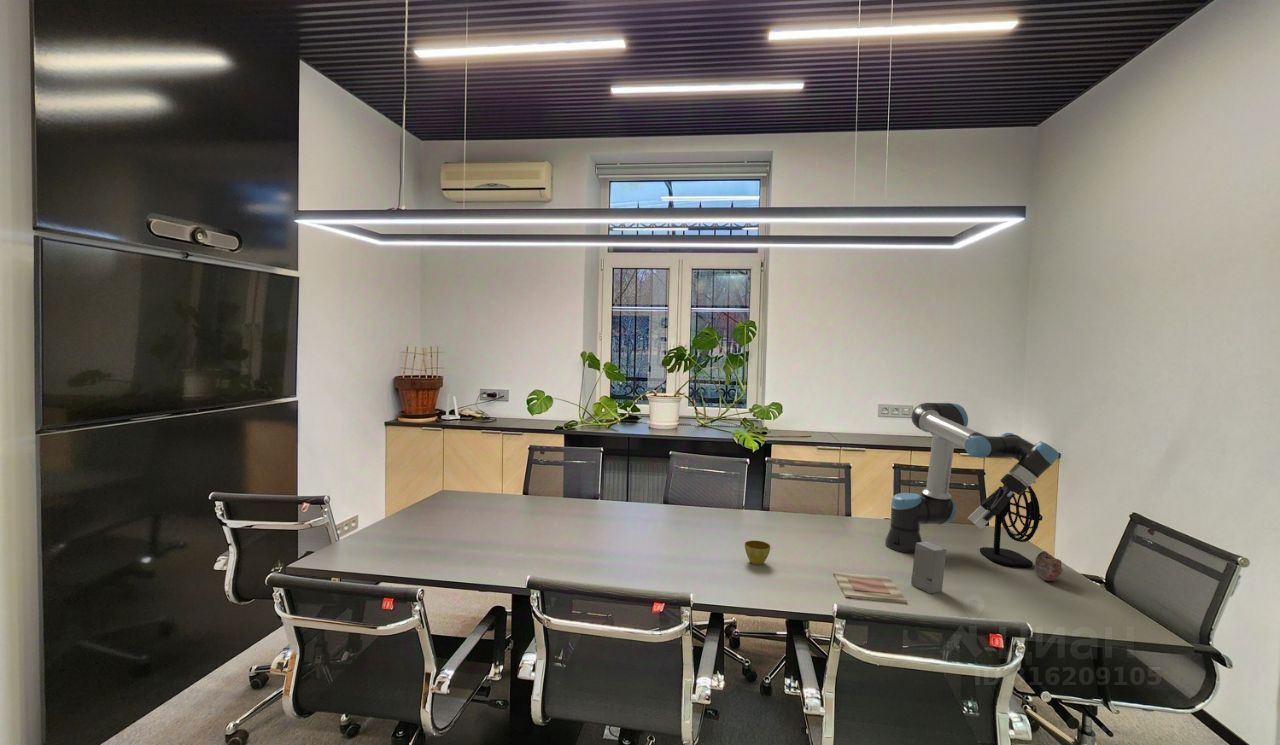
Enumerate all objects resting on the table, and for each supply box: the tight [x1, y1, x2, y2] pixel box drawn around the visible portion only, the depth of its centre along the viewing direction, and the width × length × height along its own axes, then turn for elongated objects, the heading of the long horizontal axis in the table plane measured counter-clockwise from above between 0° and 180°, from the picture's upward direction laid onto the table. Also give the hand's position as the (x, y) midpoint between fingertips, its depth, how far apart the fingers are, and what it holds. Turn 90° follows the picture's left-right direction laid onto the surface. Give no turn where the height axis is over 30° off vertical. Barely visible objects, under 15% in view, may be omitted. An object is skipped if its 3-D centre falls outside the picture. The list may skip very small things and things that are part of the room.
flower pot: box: [744, 540, 772, 566], centre depth 220 cm, size 10×10×7 cm
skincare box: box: [910, 541, 948, 594], centre depth 200 cm, size 8×7×16 cm
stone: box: [1034, 550, 1064, 582], centre depth 213 cm, size 13×8×10 cm
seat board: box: [832, 571, 907, 604], centre depth 199 cm, size 20×20×1 cm
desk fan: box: [979, 484, 1043, 568], centre depth 233 cm, size 27×18×35 cm, turn 173°
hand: (973, 523), depth 198 cm, fingers open, 13 cm apart
